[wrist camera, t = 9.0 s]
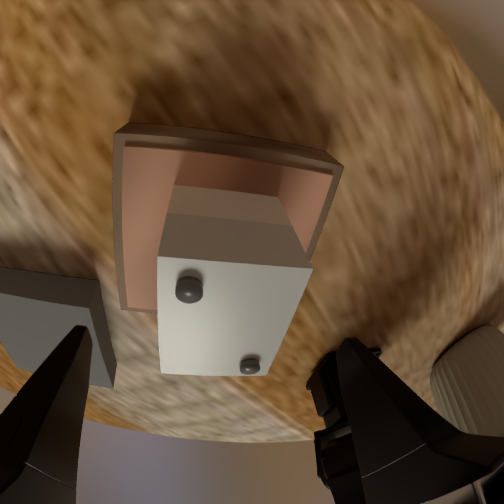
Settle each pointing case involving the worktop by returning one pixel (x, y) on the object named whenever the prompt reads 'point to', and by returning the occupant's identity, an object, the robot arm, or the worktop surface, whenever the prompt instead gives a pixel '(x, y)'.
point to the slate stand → (52, 319)
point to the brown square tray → (205, 176)
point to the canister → (472, 383)
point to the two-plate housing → (226, 282)
